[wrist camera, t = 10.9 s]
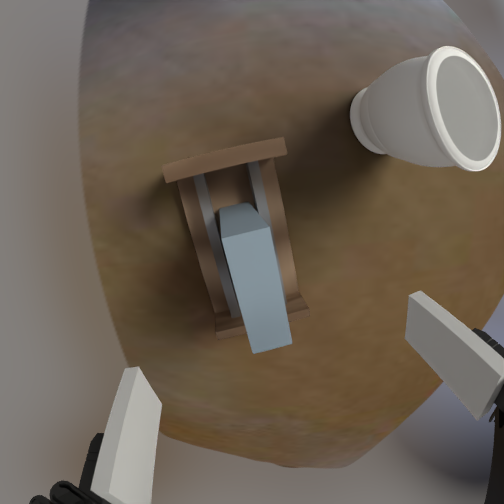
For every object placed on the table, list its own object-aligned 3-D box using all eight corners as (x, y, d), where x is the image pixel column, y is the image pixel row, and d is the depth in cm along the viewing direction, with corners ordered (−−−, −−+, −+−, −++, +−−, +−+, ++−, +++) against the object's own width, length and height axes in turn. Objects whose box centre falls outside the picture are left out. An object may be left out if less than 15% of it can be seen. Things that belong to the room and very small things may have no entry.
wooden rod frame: (174, 165, 27) (161, 165, 21) (268, 142, 28) (283, 136, 21) (217, 316, 33) (218, 351, 27) (297, 295, 34) (316, 325, 27)
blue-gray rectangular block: (219, 208, 28) (221, 238, 17) (247, 201, 29) (269, 226, 17) (239, 287, 31) (253, 353, 20) (265, 280, 31) (292, 343, 20)
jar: (358, 64, 26) (439, 21, 12) (419, 110, 28) (507, 101, 14) (326, 134, 28) (411, 119, 14) (394, 178, 31) (487, 196, 16)
